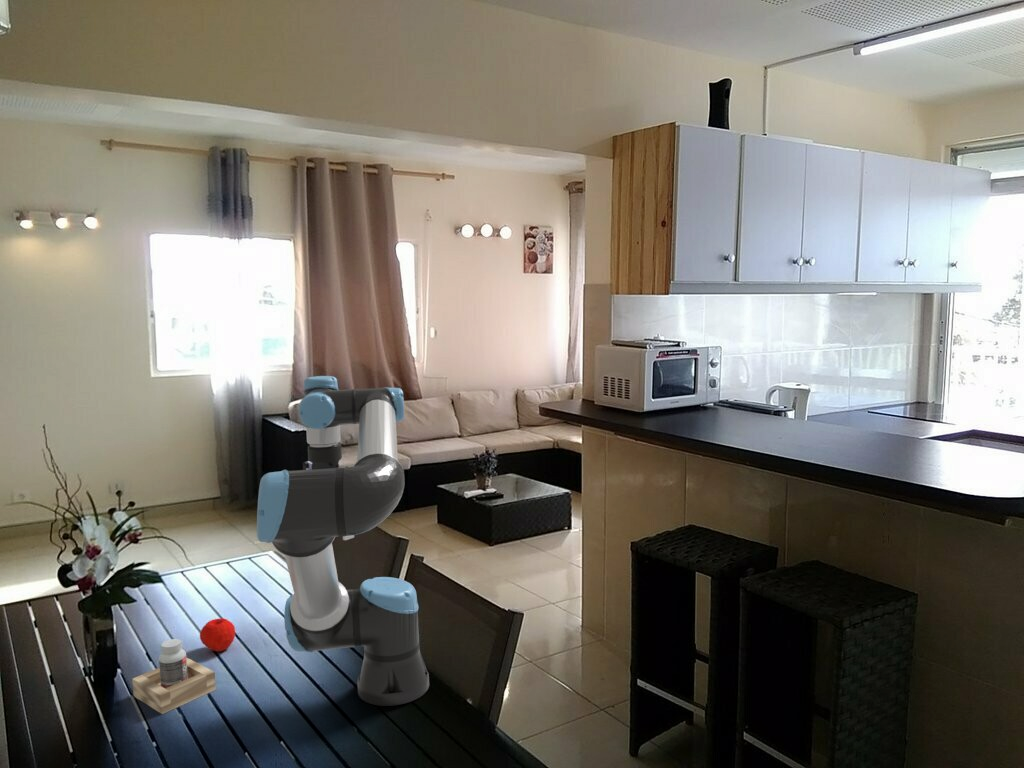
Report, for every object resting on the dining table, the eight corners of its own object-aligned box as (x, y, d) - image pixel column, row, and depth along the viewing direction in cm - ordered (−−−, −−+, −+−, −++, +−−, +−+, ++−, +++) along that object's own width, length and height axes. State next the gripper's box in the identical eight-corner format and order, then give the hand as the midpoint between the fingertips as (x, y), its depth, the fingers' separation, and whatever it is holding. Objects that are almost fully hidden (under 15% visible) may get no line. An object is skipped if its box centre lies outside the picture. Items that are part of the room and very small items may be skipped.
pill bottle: (190, 687, 167) (187, 644, 165) (163, 695, 164) (159, 651, 162) (185, 677, 171) (182, 635, 170) (159, 684, 168) (155, 641, 167)
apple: (194, 655, 185) (191, 625, 184) (215, 640, 192) (213, 611, 192) (222, 658, 183) (220, 628, 182) (243, 643, 190) (241, 614, 189)
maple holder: (216, 689, 168) (214, 672, 168) (162, 714, 159) (160, 695, 159) (186, 673, 176) (185, 656, 175) (133, 696, 167) (132, 678, 166)
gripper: (373, 446, 174) (378, 538, 177) (304, 435, 189) (309, 520, 192) (346, 452, 168) (352, 547, 171) (277, 440, 184) (283, 528, 186)
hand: (329, 533), depth 181 cm, fingers open, 13 cm apart
